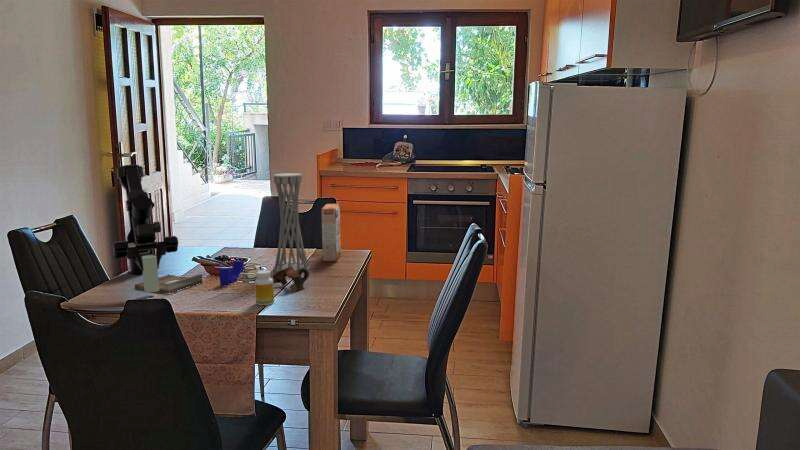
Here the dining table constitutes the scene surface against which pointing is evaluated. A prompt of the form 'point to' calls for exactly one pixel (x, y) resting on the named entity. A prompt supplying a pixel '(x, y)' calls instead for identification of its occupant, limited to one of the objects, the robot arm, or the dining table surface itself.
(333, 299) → the dining table surface
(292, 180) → the vase
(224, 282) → the blue notched block
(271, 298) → the supplement bottle
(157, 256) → the robot arm
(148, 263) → the sage block
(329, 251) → the cracker box
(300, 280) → the pottery mug
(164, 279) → the walnut board
